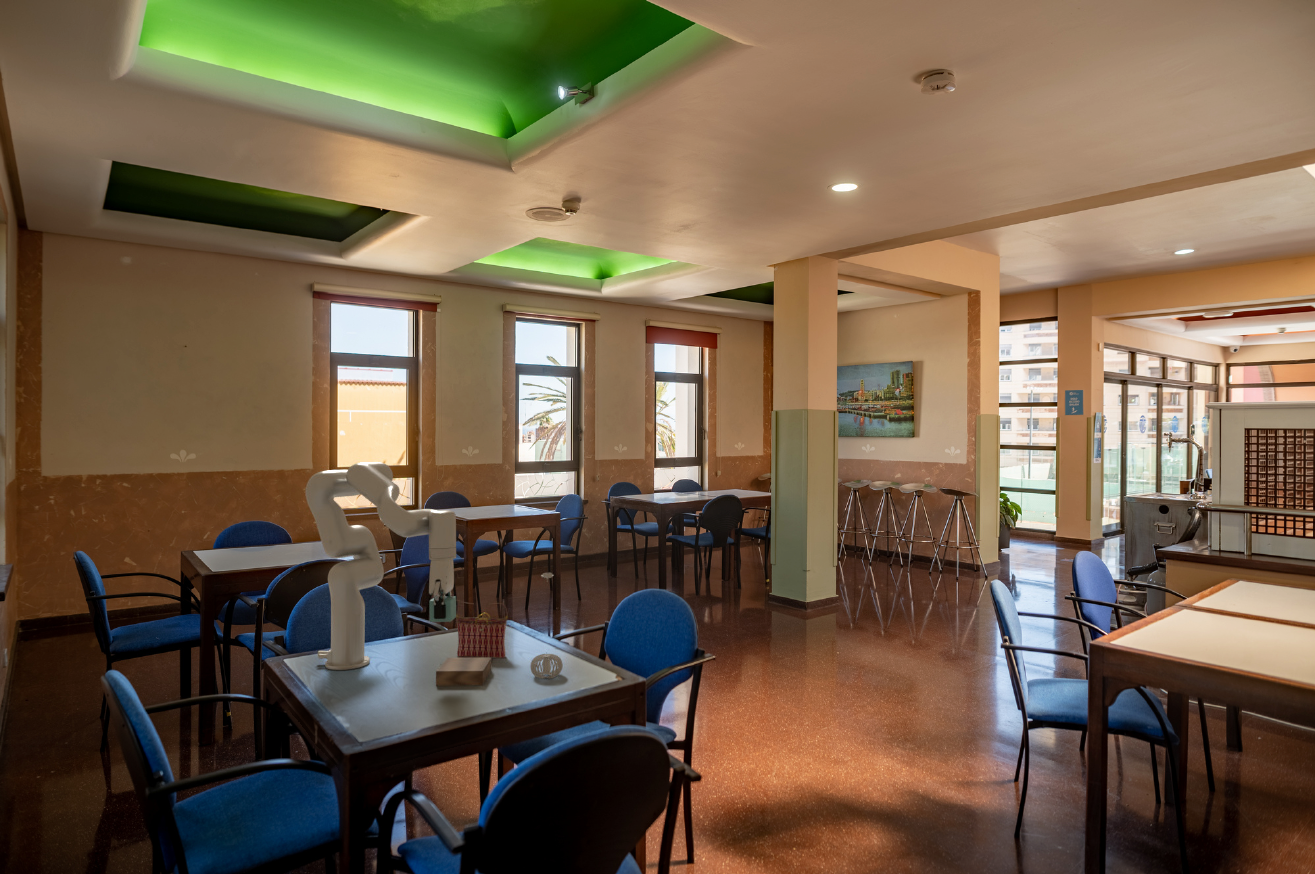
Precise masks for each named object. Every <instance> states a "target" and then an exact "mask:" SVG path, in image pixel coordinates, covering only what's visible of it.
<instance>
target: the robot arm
mask: <svg viewBox="0 0 1315 874" xmlns="http://www.w3.org/2000/svg"><path fill="white" fill-rule="evenodd" d="M393 477H394V473H393V471H392V469H391V467H390V466H389V465H388V464H386V463H384V462H380V461H369V462H368V461H365V462H364V461H363V462H356V463H354V464H352V465H351V466H349V467H348V468H347V469H331V470H330V469H329V470H327V469H326V470H322V471H319V472H316V473H314V474H313V475H311V477H310V478H309V480H308V481H307V483H306V487H305V497H306V498H305V499H306V502H307V505H308V507H309V509H310V512H311V513H312V516H313V518H314V521H315V524H316V529H317V531H318V534H319V538H320V541H321V545H322V547H323V550H324V552H325V554H326V556H327V557H329V558H331V559H344V558H348V557H353V558H352V559H349V560H344V561H341V562H337V563H336V564H334V565H333V566H332V567H330V570H329V572H328V575H327V583H328V588H329V594H330V602H331V603H330V622H331V623H330V627H331V628H330V649H329V650H318V652H317V658H318V659H319V660H320V659H326V661H325V662H324V663H325V664H324V666H325V668H326V669H327V670H328V669H329V670H332V671H346V670H347V671H348V670H353V669H354V670H355V669H358V668H363V667H365V666H368V665H369V664H370V662H371V658H370V657H369V656H367V655H365V638H366V636H365V634H366V633H365V628H366V626H365V625H366V623H365V621H366V619H365V617H366V615H365V613H366V604H365V601H364V598H363V596H362V594H361V593H360V591H361V590H363V589H364V590H365V589H368V588H372V587H375V586H377V585H378V584H380V583H381V582H382V580H383V578H384V575H385V574H384V572H385V571H384V565H383V561H382V558H381V555H380V552H379V548H378V545H377V541H376V539H375V536H374V535H373V532H372V531H371V530H370V529H369V528H368V527H367V526H364V525H361V524H355V525H350V524H349V523H348V520H347V517H346V514H345V511H344V510H343V508H342V507H341V506H340V505H339V503H337V501H335V498H339V497H340V498H342V497H343V498H345V497H353V496H354V497H355V496H359V495H361V496H362V497H364V498H365V499H366V500H368V501H369V502H370V503H371V504H373V505H374V506H375V507H376V511H377V515H378V517H379V519H380V521H381V522H382V524H384V526H386V527H387V528H388V529H390V530H391V531H392V532H393V533H395V534H396V535H398V536H400V537H402V538H413V537H417V536H418V537H419V536H426V535H428V559H429V560H430V567H429V583H428V594H429V595H433V598H434V619H445V618H446V604H445V597H447V596H452V590H453V589H454V584H455V570H454V569H455V568H454V567H455V566H454V559H457V522H456V521H457V520H456V519H457V517H456V513H455V512H454V511H452V510H448V509H445V510H442V509H441V510H436V509H432V508H424V509H422V508H421V509H414V510H406V509H405V508H403V507H402V506H400V505H399V504H398V503H397V502H396V501H397V500H398V498H399V497H400V493H401V492H400V487H399V485H398V484H396V483H395V482H394V481H393V479H394V478H393ZM441 597H442V598H441Z"/></svg>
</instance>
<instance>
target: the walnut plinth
mask: <svg viewBox="0 0 1315 874" xmlns="http://www.w3.org/2000/svg"><path fill="white" fill-rule="evenodd" d="M491 672H492V658H491V657H447V658H446V659H445V660H444V661H443V662H442V664H440V666H439V668H437V670H435V686H437V687H438V686H483V685H484V684H485V682H486V680H487V679H488V677H489V676H490V674H491Z"/></svg>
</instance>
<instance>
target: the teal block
mask: <svg viewBox="0 0 1315 874" xmlns="http://www.w3.org/2000/svg"><path fill="white" fill-rule="evenodd" d="M441 598H442V597H441ZM445 604H446V618H445V619H434V597H433V598H431V599H430V600H429V623H442V622H443V623H444V622H445V623H447V622H448V623H451V622H452V621H453V620H455V618H457V617H456V613H457V596H456V595H455V596H454V595H453V596H447V597H445Z"/></svg>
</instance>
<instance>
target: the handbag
mask: <svg viewBox="0 0 1315 874" xmlns="http://www.w3.org/2000/svg"><path fill="white" fill-rule="evenodd" d="M457 601H458V602H460V603H464V604H467V602H465V601H463V600H462V601H461V600H458V599H456V602H457ZM468 604H469V605H470V604H471V605H473V603H471V602H468ZM494 604H495V605H496V604H497V602H493V603H492V602H490V605H494ZM498 604H500V605H503V606H504V608H505V610H506V616H505V617H504V618H491V616H490V615H489V614H488V613H487V612H482V613H481V614H479V615H477V617H460V616H459V615H458V613H457V612H456V617H455V618H456V625H457V638H458V643H457V645H458V646H457V652H456V655H457V658H487V657H491V659H492V658H494V659H504V658H506V654H507V653H506V646H505V644H506V643H505V640H506V629H507V628H506V627H507V623H508V615H509V614H508V610H507V607H506V605H505V604H503V603H501V602H498ZM485 614H486V615H487V616H488V617H486V615H485ZM481 616H482V617H481Z"/></svg>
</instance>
